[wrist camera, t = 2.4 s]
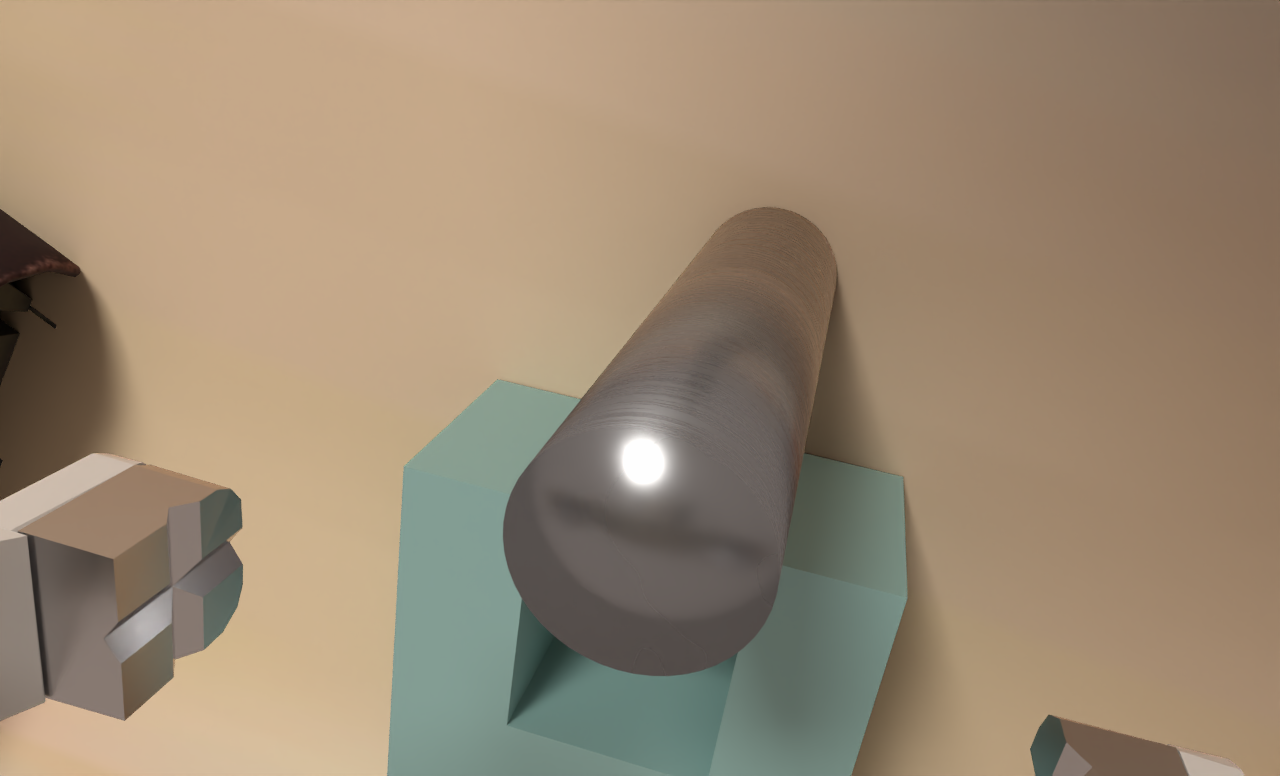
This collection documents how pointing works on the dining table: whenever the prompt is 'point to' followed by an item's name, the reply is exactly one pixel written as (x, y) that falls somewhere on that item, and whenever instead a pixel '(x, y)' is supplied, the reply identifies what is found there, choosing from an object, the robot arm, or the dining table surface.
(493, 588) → the hole block
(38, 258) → the diary
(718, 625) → the peg
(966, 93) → the dining table surface
